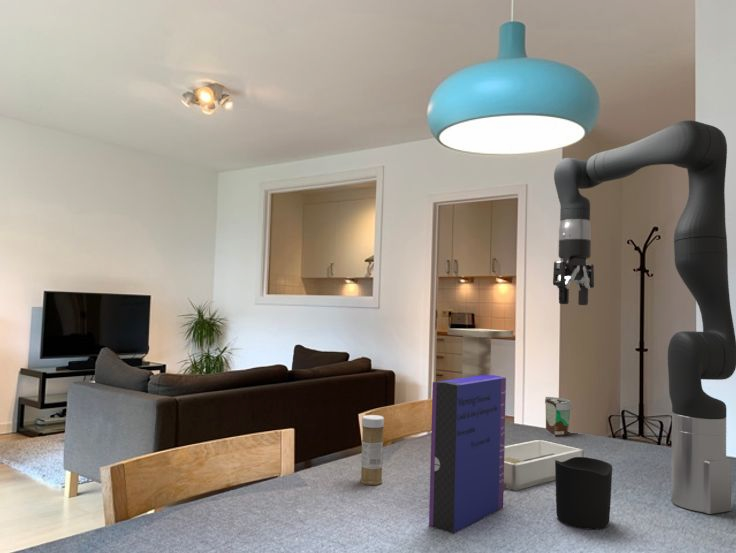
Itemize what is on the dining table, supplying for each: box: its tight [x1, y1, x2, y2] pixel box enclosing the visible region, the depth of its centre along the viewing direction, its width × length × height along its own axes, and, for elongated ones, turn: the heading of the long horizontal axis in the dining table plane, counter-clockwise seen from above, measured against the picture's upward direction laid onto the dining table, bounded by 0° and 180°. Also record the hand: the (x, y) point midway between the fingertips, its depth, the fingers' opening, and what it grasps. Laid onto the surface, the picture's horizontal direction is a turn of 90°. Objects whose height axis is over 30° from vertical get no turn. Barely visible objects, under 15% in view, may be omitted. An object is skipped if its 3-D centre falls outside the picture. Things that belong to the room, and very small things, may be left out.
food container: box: [544, 396, 573, 438], centre depth 178 cm, size 12×6×10 cm, turn 179°
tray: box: [504, 439, 585, 492], centre depth 133 cm, size 25×12×5 cm, turn 129°
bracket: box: [447, 328, 514, 491], centre depth 123 cm, size 10×9×32 cm
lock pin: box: [504, 453, 556, 464], centre depth 133 cm, size 18×5×3 cm, turn 130°
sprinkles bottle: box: [360, 414, 385, 486], centre depth 123 cm, size 5×5×14 cm
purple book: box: [428, 374, 507, 535], centre depth 106 cm, size 17×5×24 cm, turn 141°
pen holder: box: [555, 456, 613, 530], centre depth 105 cm, size 9×9×10 cm
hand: (573, 304), depth 148 cm, fingers open, 8 cm apart
